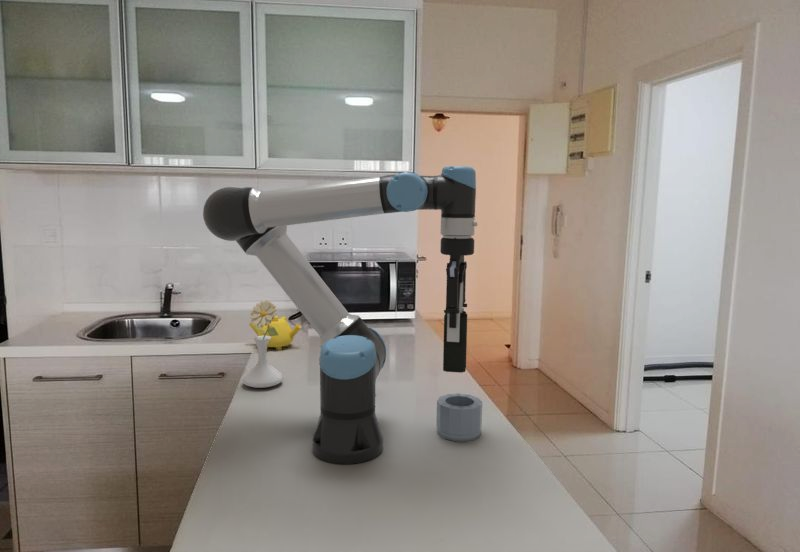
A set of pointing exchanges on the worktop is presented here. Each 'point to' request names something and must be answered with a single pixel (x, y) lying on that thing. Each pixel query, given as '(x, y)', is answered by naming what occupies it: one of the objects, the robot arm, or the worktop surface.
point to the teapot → (282, 329)
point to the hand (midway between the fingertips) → (455, 338)
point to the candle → (456, 343)
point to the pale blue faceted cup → (459, 417)
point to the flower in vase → (263, 348)
